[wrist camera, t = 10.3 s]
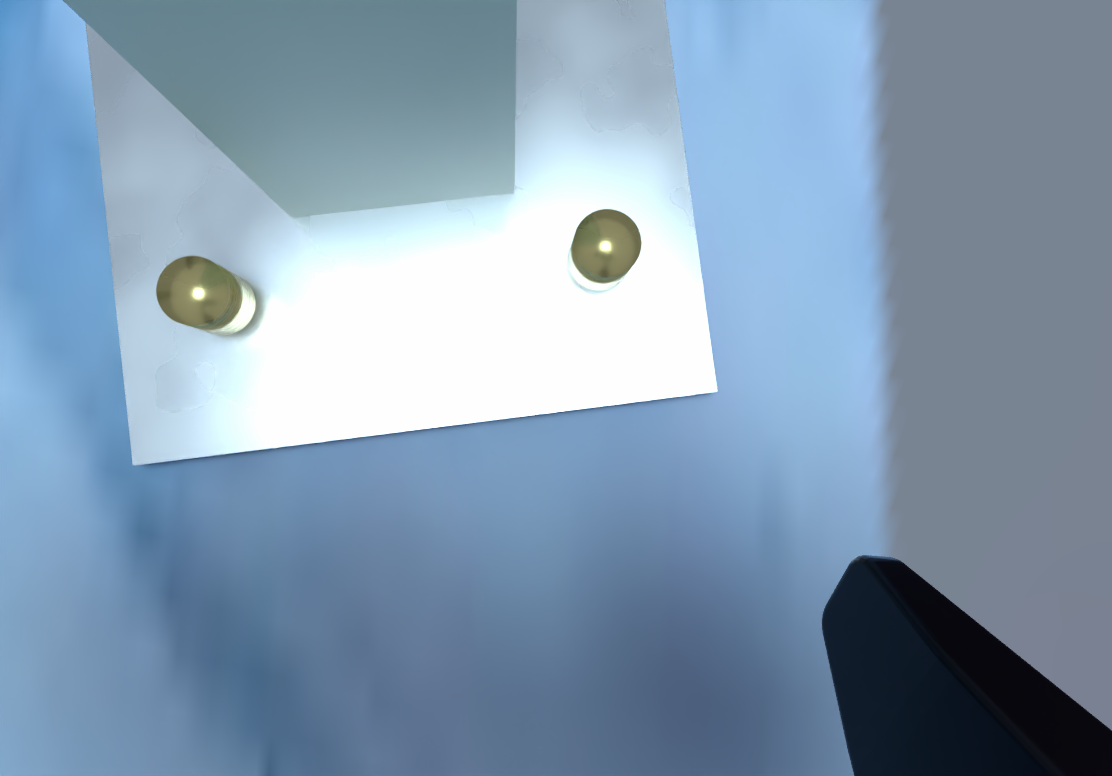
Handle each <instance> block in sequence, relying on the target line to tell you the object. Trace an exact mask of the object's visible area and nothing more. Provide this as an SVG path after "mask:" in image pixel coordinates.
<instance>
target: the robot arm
mask: <svg viewBox="0 0 1112 776" xmlns="http://www.w3.org/2000/svg"><path fill="white" fill-rule="evenodd" d="M822 630H823V636H824V641H825V646H826V650H827V655H828V660H829V664H830V669H831V674H832V678H833V683H834V687H835V692H836V697H837V701H838V706H839V711H840V715H841V720H842V725H843V729H844V734H845V739H846V743H847V748H848V752H849V756H850V760H851V764H852V768H853V772H854V776H1112V731H1111V730H1110V729H1109V728H1108V727H1107V726H1105V725H1104V724H1103V723H1102V722H1100V721H1099V720H1098V719H1097V718H1095V717H1094V716H1093V715H1092V714H1090V713H1089V712H1088V711H1087V710H1086V709H1084V708H1083V707H1082V706H1081V705H1079V704H1078V703H1077V702H1076V701H1074V700H1073V699H1072V698H1070V697H1069V696H1068V695H1067V694H1066V693H1064V692H1063V691H1062V690H1061V689H1059V688H1058V687H1057V686H1056V685H1054V684H1053V683H1052V682H1051V681H1049V680H1048V679H1047V678H1046V677H1044V676H1043V675H1042V674H1041V673H1040V672H1038V671H1037V670H1036V669H1034V668H1033V667H1032V666H1031V665H1030V664H1028V663H1027V662H1026V661H1024V660H1023V659H1022V658H1021V657H1020V656H1018V655H1017V654H1016V653H1015V652H1013V651H1012V650H1011V649H1010V648H1008V647H1007V646H1006V645H1005V644H1003V643H1002V642H1001V641H1000V640H998V639H997V638H996V637H995V636H993V635H992V634H991V633H990V632H989V631H987V630H986V629H985V628H984V627H982V626H981V625H980V624H979V623H977V622H976V621H975V620H974V619H972V618H971V617H970V616H969V615H967V614H966V613H965V612H964V611H962V610H961V609H960V608H959V607H957V606H956V605H955V604H954V603H952V602H951V601H950V600H949V599H947V598H946V597H945V596H944V595H943V594H941V593H940V592H939V591H938V590H936V589H935V588H934V587H932V586H931V585H930V584H929V583H928V582H926V581H925V580H924V579H923V578H921V577H920V576H919V575H918V574H916V573H915V572H914V571H913V570H911V569H910V568H909V567H908V566H907V565H905V564H904V563H903V562H901V561H900V560H897V559H895V558H891V557H880V556H868V555H862V556H858V557H857V558H855V559H854V560H852V561H851V563H850V564H849V566H848V567H847V569H846V571H845V573H844V574H843V576H842V578H841V580H840V581H839V583H838V585H837V587H836V588H835V590H834V592H833V594H832V595H831V597H830V599H829V601H828V602H827V604H826V606H825V608H824V612H823V617H822Z"/></svg>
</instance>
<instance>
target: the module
mask: <svg viewBox="0 0 1112 776" xmlns="http://www.w3.org/2000/svg"><path fill="white" fill-rule="evenodd" d="M63 1H64V2H65V3H66V4H67V5H68V6H69V7H70V8H71V9H72V10H73V11H74V12H76V13H77V14H78V15H79V16H80V17H81V18H82V19H83V20H84V21H85V22H86V23H87V24H88V25H89V26H90V27H91V28H92V29H93V30H94V31H96V32H97V33H98V34H99V35H100V36H101V37H102V38H103V39H104V40H105V41H106V42H107V43H108V44H109V45H110V46H111V47H112V48H113V49H114V50H116V51H117V52H118V53H119V54H120V55H121V56H122V57H123V58H124V59H125V60H126V61H127V62H128V63H129V64H130V65H131V66H132V67H133V68H134V69H136V70H137V71H138V72H139V73H140V74H141V75H142V76H143V77H144V78H145V79H146V80H147V81H148V82H149V83H150V84H151V85H152V86H153V87H154V88H156V89H157V90H158V91H159V92H160V93H161V94H162V95H163V96H164V97H165V98H166V99H167V100H168V101H169V102H170V103H171V104H172V105H173V106H174V107H176V108H177V109H178V110H179V111H180V112H181V113H182V114H183V115H184V116H185V117H186V118H187V119H188V120H189V121H190V122H191V123H192V124H193V125H194V126H196V127H197V128H198V129H199V130H200V131H201V132H202V133H203V134H204V135H205V136H206V137H207V138H208V139H209V140H210V141H211V142H212V143H213V144H214V145H216V146H217V147H218V148H219V149H220V150H221V151H222V152H223V153H224V154H225V155H226V156H227V157H228V158H229V159H230V160H231V161H232V162H233V163H234V164H236V165H237V166H238V167H239V168H240V169H241V170H242V171H243V172H244V173H245V174H246V175H247V176H248V177H249V178H250V179H251V180H252V181H253V182H254V183H256V184H257V185H258V186H259V187H260V188H261V189H262V190H263V191H264V192H265V193H266V194H267V195H268V196H269V197H270V198H271V199H272V200H273V201H275V202H276V203H277V204H278V205H279V206H280V207H281V208H282V209H283V210H284V211H285V212H286V213H287V214H288V215H289V216H290V217H291V218H295V217H304V216H313V215H322V214H331V213H340V212H349V211H357V210H366V209H375V208H384V207H393V206H402V205H411V204H420V203H429V202H438V201H447V200H456V199H465V198H474V197H482V196H491V195H500V194H509V193H514V189H515V113H516V37H517V0H63Z"/></svg>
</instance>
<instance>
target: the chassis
mask: <svg viewBox="0 0 1112 776" xmlns="http://www.w3.org/2000/svg"><path fill="white" fill-rule="evenodd" d="M86 32H87V41H88V50H89V60H90V69H91V78H92V88H93V97H94V106H95V116H96V125H97V135H98V144H99V153H100V163H101V172H102V181H103V191H104V200H105V209H106V219H107V228H108V237H109V247H110V256H111V265H112V275H113V284H114V293H115V303H116V312H117V321H118V331H119V340H120V350H121V359H122V368H123V378H124V387H125V396H126V406H127V415H128V424H129V434H130V443H131V452H132V462H133V466H135V465H145V464H153V463H161V462H169V461H176V460H184V459H192V458H200V457H208V456H216V455H224V454H232V453H240V452H247V451H255V450H263V449H271V448H279V447H287V446H295V445H303V444H311V443H318V442H326V441H334V440H342V439H350V438H358V437H366V436H374V435H381V434H389V433H397V432H405V431H413V430H421V429H429V428H437V427H445V426H452V425H460V424H468V423H476V422H484V421H492V420H500V419H508V418H516V417H523V416H531V415H539V414H547V413H555V412H563V411H571V410H579V409H587V408H594V407H602V406H610V405H618V404H626V403H634V402H642V401H650V400H658V399H665V398H673V397H681V396H689V395H697V394H705V393H712V392H717V386H716V378H715V371H714V363H713V356H712V348H711V341H710V334H709V326H708V319H707V311H706V304H705V297H704V289H703V282H702V274H701V267H700V260H699V252H698V245H697V237H696V230H695V223H694V215H693V208H692V200H691V193H690V186H689V178H688V171H687V163H686V156H685V148H684V141H683V134H682V126H681V119H680V111H679V104H678V97H677V89H676V82H675V74H674V67H673V60H672V52H671V45H670V37H669V30H668V23H667V15H666V8H665V0H517V37H516V113H515V189H514V193H509V194H500V195H491V196H482V197H474V198H465V199H456V200H447V201H438V202H429V203H420V204H411V205H402V206H393V207H384V208H375V209H366V210H357V211H349V212H340V213H331V214H322V215H313V216H304V217H295V218H291V217H290V216H289V215H288V214H287V213H286V212H285V211H284V210H283V209H282V208H281V207H280V206H279V205H278V204H277V203H276V202H275V201H273V200H272V199H271V198H270V197H269V196H268V195H267V194H266V193H265V192H264V191H263V190H262V189H261V188H260V187H259V186H258V185H257V184H256V183H254V182H253V181H252V180H251V179H250V178H249V177H248V176H247V175H246V174H245V173H244V172H243V171H242V170H241V169H240V168H239V167H238V166H237V165H236V164H234V163H233V162H232V161H231V160H230V159H229V158H228V157H227V156H226V155H225V154H224V153H223V152H222V151H221V150H220V149H219V148H218V147H217V146H216V145H214V144H213V143H212V142H211V141H210V140H209V139H208V138H207V137H206V136H205V135H204V134H203V133H202V132H201V131H200V130H199V129H198V128H197V127H196V126H194V125H193V124H192V123H191V122H190V121H189V120H188V119H187V118H186V117H185V116H184V115H183V114H182V113H181V112H180V111H179V110H178V109H177V108H176V107H174V106H173V105H172V104H171V103H170V102H169V101H168V100H167V99H166V98H165V97H164V96H163V95H162V94H161V93H160V92H159V91H158V90H157V89H156V88H154V87H153V86H152V85H151V84H150V83H149V82H148V81H147V80H146V79H145V78H144V77H143V76H142V75H141V74H140V73H139V72H138V71H137V70H136V69H134V68H133V67H132V66H131V65H130V64H129V63H128V62H127V61H126V60H125V59H124V58H123V57H122V56H121V55H120V54H119V53H118V52H117V51H116V50H114V49H113V48H112V47H111V46H110V45H109V44H108V43H107V42H106V41H105V40H104V39H103V38H102V37H101V36H100V35H99V34H98V33H97V32H96V31H94V30H93V29H92V28H91V27H90V26H89V25H88V24H87V23H86Z"/></svg>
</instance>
